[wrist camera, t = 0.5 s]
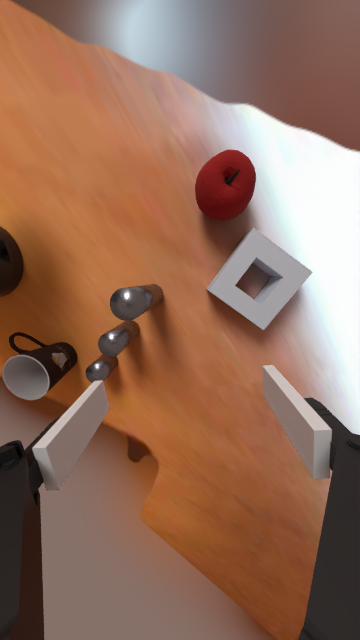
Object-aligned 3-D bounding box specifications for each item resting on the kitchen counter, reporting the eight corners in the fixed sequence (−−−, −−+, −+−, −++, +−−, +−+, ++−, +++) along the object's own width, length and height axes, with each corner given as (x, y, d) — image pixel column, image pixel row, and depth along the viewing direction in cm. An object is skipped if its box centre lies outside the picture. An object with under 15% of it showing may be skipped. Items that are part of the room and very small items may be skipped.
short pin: (97, 362, 43) (82, 376, 38) (106, 349, 43) (91, 360, 37) (112, 372, 44) (99, 387, 38) (121, 359, 43) (109, 372, 37)
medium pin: (117, 331, 41) (93, 347, 32) (127, 316, 41) (105, 328, 31) (133, 342, 42) (114, 361, 32) (143, 327, 41) (126, 342, 31)
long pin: (139, 296, 40) (104, 308, 24) (150, 280, 39) (120, 281, 23) (156, 308, 40) (131, 327, 24) (166, 291, 39) (148, 300, 23)
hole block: (206, 288, 38) (208, 290, 33) (245, 234, 36) (253, 227, 31) (254, 323, 39) (263, 330, 34) (296, 273, 36) (312, 272, 32)
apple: (223, 157, 34) (235, 108, 24) (258, 198, 34) (283, 166, 25) (184, 200, 35) (181, 170, 26) (218, 237, 36) (227, 222, 26)
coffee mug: (84, 373, 44) (53, 400, 34) (48, 373, 45) (8, 399, 35) (77, 323, 42) (41, 337, 32) (39, 324, 42) (-7, 337, 33)
